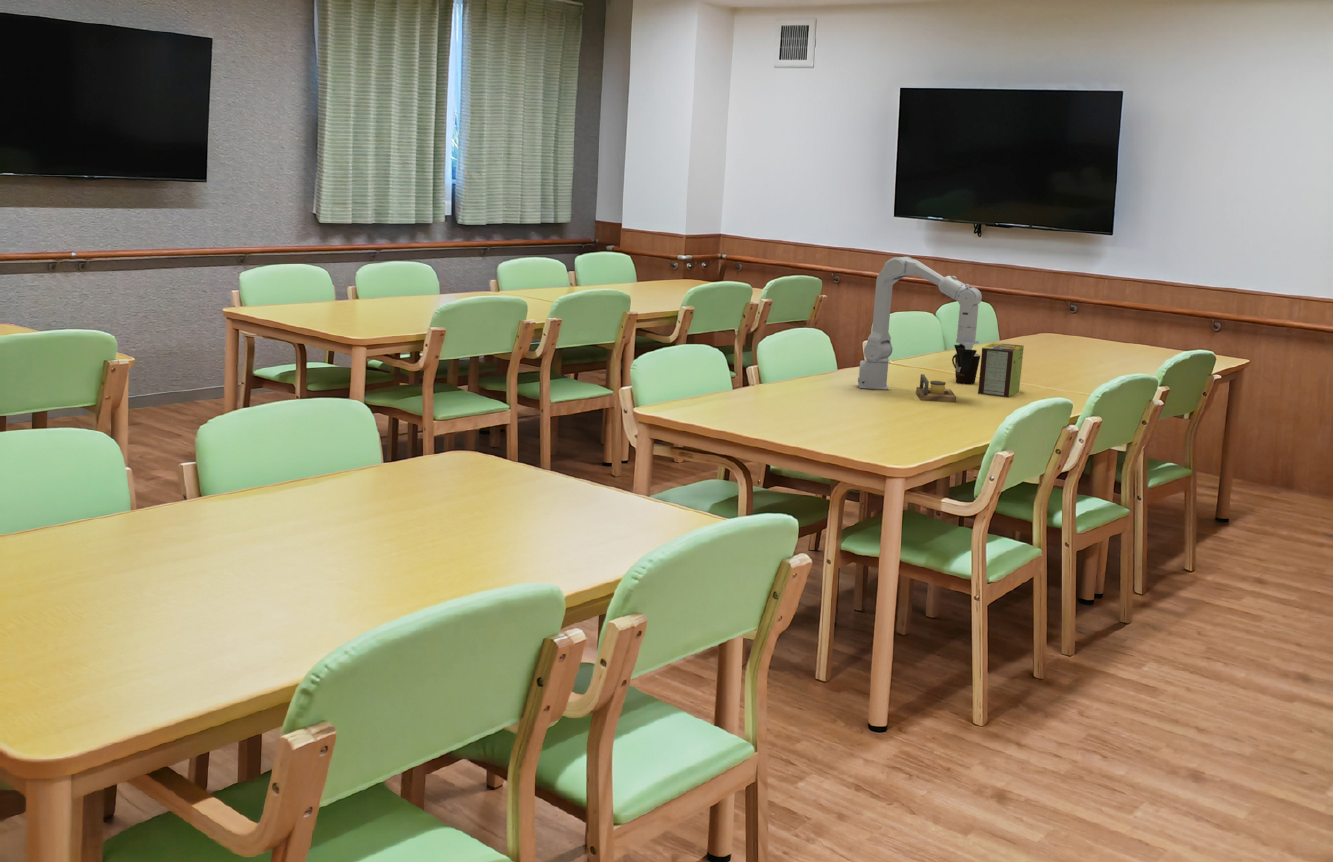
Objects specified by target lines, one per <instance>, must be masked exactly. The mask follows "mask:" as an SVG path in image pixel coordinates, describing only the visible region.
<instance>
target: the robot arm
mask: <svg viewBox="0 0 1333 862" xmlns="http://www.w3.org/2000/svg"><path fill="white" fill-rule="evenodd" d="M909 276H919V277H920V278H922V279H925V280H926V281H928V282H929V283H932V284H934V285H936V286H938V290H939V291H940V293H942V294H944V295H946V296H948V297H949V298H950V299H953V300H955V301H957V302H958V304H959V311H958V313H959V314H958V323H957V333H956V340H955V343H956V344H954V345H953V346H954V349H955V353H957V361H958V367H961V370H962V371H969V368H970V365H971V362H972V359H973V357H974V355H975V353H976V354H977V349H973V346H974V345H976V344H980V341H979V340H976V336H977V327H978V314H979V304H980V303H981V302H982V299H983V296H982V295H983V294H982V293H981V291H980V290H979V289H978V288H977V287H974V286H973V287H970V284H969V283H964V282H962V281H960V280H958V277H957V276H955V275H952V276H951V275H947V276H943V275H941V274H940V273H938V272H937V271H935V270H933V269H932V268H930V266H929V267H928V266H927V265H926V264H924V263H922V262H921V261H919V260H917V259H915V258H912V257H911V256H908V255H907V256H899V257H898V256H895V257H891V258H890V259H888V260H887V261H885V262H884V265H883V268H882V269H881V270H880V272H879V274H878V275H877V277H876V282H875V292H874V303H873V317H872V318H873V319H872V328H871V333H870V334H869V335H868V337H867V343H866V345H865V346H864V348H863V354H864V356H865V358H866V359H865V360H860V361H859V372H858V377H857V384H858V388H859V389H869V390H870V389H871V390H885V391H887V390H889V386H888V384H887V383H888V373H889V357H890V356H891V355H892V353H893V345H892V342H891V341H892V337H891V335H890V333H889V331H890V319H891V318H890V317H891V306H892V295H893V285H894V284H896V283H897V282H898V281H899V280H901V279H903V278H906V277H909Z"/></svg>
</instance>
